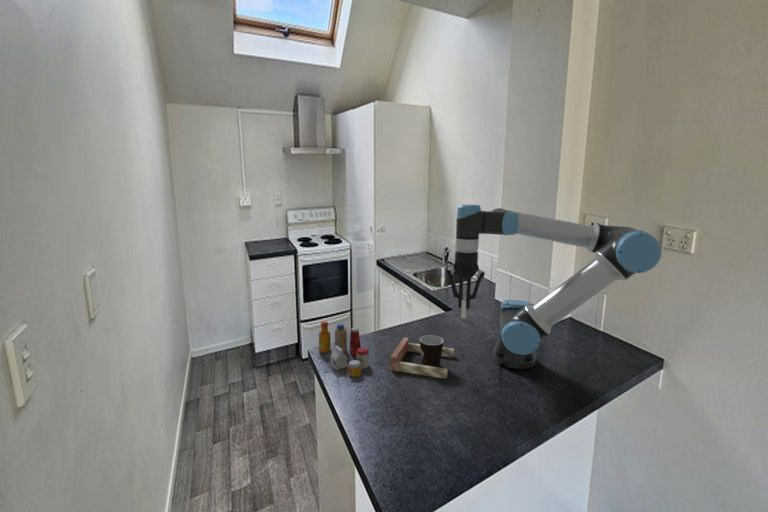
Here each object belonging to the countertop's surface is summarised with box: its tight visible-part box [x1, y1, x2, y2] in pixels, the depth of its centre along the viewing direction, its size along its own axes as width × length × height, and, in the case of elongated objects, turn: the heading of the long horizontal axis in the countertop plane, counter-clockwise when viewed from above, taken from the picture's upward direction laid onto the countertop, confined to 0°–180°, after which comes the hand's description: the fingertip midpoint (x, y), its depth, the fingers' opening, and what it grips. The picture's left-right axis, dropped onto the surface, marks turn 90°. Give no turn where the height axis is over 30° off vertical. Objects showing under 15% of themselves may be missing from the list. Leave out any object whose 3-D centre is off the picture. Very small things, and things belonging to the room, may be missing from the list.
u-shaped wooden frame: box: [389, 337, 455, 379], centre depth 137 cm, size 20×18×5 cm
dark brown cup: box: [419, 334, 444, 368], centre depth 136 cm, size 12×9×10 cm
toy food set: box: [318, 321, 370, 378], centre depth 139 cm, size 27×13×12 cm, turn 32°
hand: (463, 317), depth 130 cm, fingers closed
